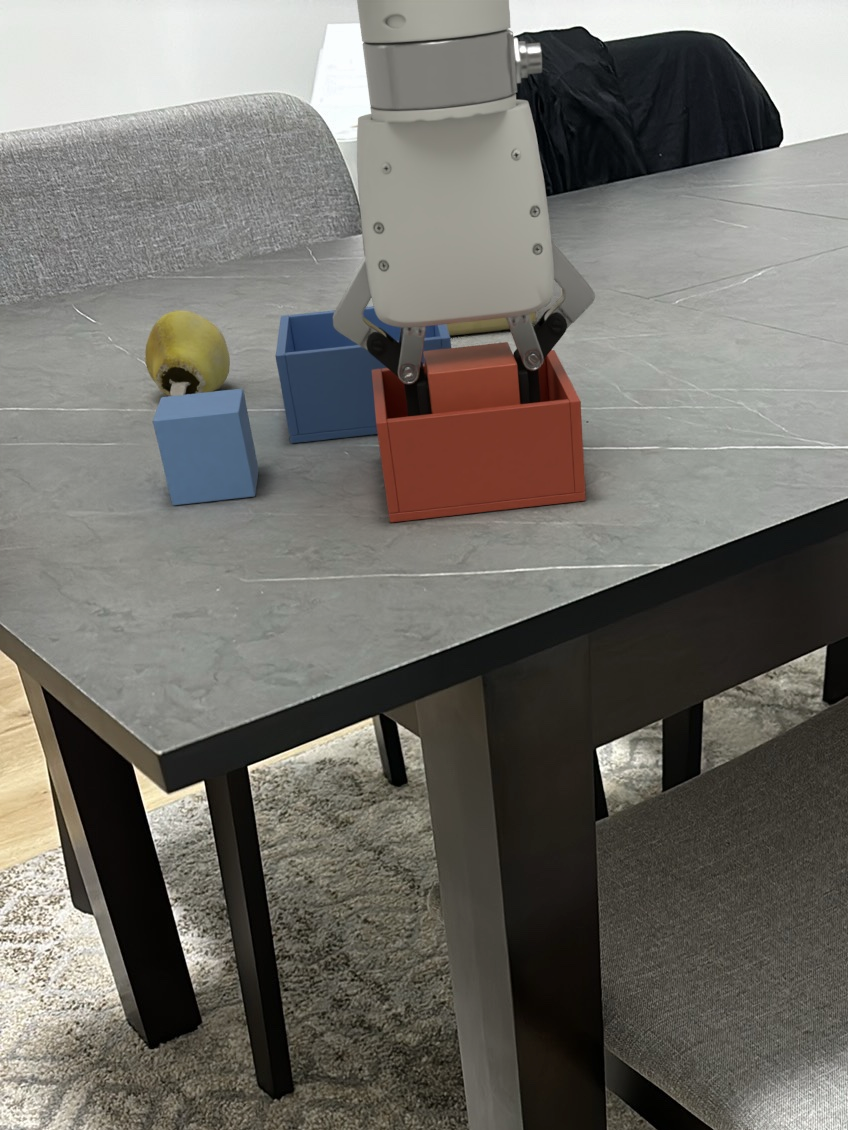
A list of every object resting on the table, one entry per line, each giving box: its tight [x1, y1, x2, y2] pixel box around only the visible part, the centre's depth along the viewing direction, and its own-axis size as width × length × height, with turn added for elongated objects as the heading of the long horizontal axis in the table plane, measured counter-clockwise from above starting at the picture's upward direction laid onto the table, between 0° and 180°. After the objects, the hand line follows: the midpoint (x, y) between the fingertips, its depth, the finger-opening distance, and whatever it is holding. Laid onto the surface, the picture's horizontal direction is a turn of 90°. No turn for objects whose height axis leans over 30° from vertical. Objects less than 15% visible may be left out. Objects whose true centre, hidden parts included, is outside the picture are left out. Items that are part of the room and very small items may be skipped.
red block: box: [423, 341, 520, 414], centre depth 80 cm, size 5×5×5 cm
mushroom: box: [144, 309, 231, 397], centre depth 100 cm, size 6×6×10 cm
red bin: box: [372, 349, 587, 523], centre depth 81 cm, size 11×11×6 cm
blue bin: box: [275, 305, 452, 444], centre depth 95 cm, size 11×11×6 cm
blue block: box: [152, 388, 260, 506], centre depth 84 cm, size 5×5×5 cm
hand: (476, 439), depth 82 cm, fingers closed on red block, 5 cm apart
